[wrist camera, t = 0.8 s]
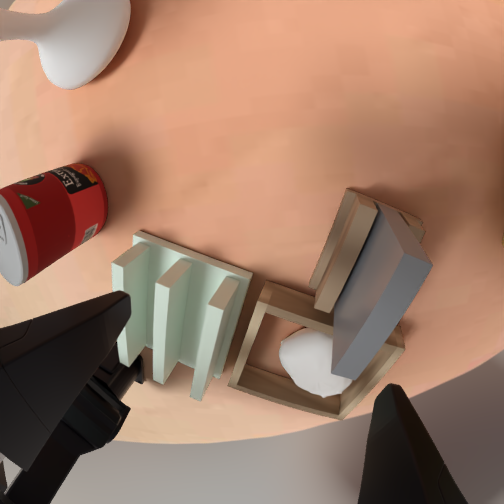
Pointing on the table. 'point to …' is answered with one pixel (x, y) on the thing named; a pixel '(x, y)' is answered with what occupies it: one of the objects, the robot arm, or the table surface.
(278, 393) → the garlic trivet frame
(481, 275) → the table surface
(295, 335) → the garlic
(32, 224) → the canned food
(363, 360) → the plate
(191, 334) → the dish rack
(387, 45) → the table surface
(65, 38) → the flower in vase
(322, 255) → the plate stand
